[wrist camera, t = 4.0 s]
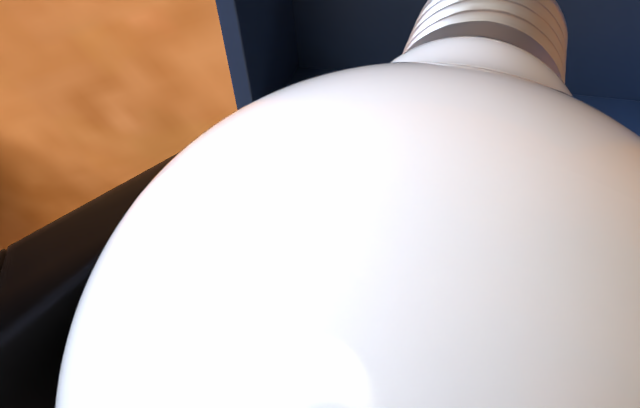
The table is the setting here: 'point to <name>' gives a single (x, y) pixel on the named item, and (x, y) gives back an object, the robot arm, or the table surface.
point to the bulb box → (393, 33)
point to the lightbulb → (383, 241)
